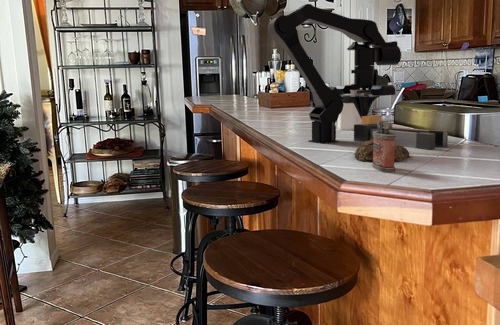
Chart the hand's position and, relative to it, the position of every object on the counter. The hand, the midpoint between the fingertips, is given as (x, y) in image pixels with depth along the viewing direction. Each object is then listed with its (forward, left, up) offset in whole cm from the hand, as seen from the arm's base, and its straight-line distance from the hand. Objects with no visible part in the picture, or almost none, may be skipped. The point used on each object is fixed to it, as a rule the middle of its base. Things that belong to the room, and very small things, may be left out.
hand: (363, 119), depth 143 cm
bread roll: (-20, -25, -7) cm, 32 cm away
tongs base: (0, -13, -6) cm, 15 cm away
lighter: (-29, -34, -6) cm, 45 cm away
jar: (+18, +24, -6) cm, 31 cm away
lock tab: (0, -3, -1) cm, 3 cm away
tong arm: (+2, -16, -6) cm, 17 cm away
